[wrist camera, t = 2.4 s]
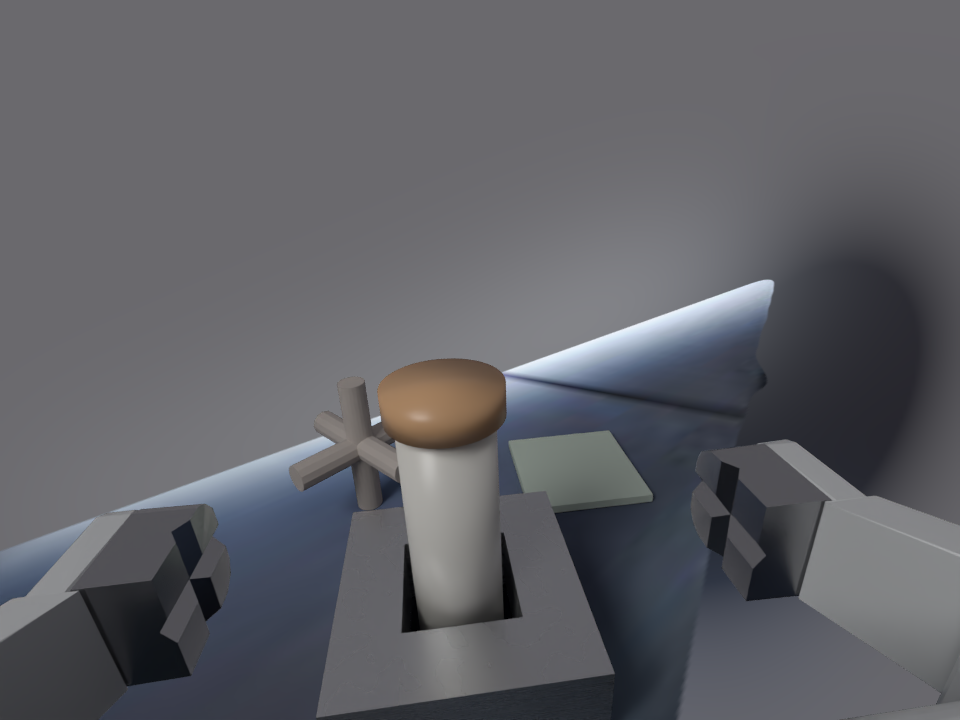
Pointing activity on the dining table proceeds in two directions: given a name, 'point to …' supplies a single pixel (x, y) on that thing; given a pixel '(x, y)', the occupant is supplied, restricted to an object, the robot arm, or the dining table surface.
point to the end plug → (449, 484)
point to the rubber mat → (578, 471)
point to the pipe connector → (351, 447)
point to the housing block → (465, 633)
